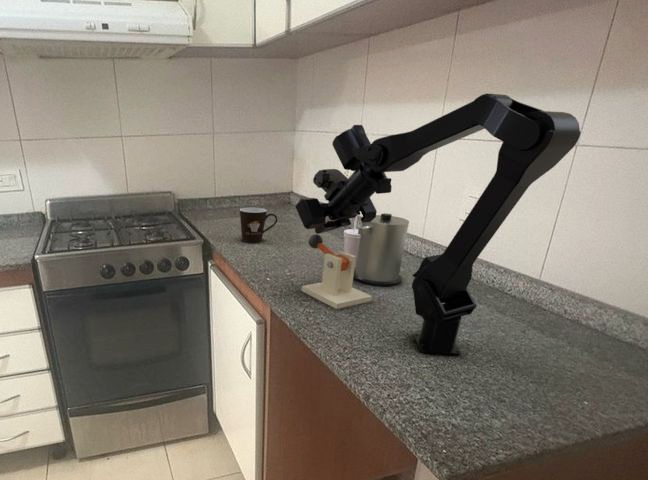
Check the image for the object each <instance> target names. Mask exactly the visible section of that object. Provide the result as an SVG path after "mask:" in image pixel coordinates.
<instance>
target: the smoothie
mask: <svg viewBox="0 0 648 480" xmlns="http://www.w3.org/2000/svg"><path fill="white" fill-rule="evenodd" d="M358 216H359V215H357V216H356V217H355V218H354V223H353V228H348V229H344V230H343V234H342V235H343V236H344V237H343V245H344V247H343V249H344V251H343V252H346V253H348V254H351V255H354V256H356V262H355V269H356V264H357V257H358V250H359V243H360V236H361V235H359V234H358V229H359V228H358V229H357V225H358V224H357V223H358Z"/></svg>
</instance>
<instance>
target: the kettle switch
mask: <svg viewBox="0 0 648 480" xmlns="http://www.w3.org/2000/svg"><path fill="white" fill-rule="evenodd" d="M308 245H309V246H310V248H312V249H318V250H319V251H321V252H322V253H323V255H325V254H331V255H334V256H336V257H339V258H342V263H341V271H344V270H346V268H347V265H348V263H349V261H348V260H347V259H346V258H345V257H343V256H342V255H339V254H335V252H333V251H332V250H331V249H330V248H328V247H327V246H326V245H325V244H324V240H323V237H322V236H321V235H319V234H313V235H311V236H310V237H309V238H308Z"/></svg>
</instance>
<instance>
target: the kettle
mask: <svg viewBox="0 0 648 480" xmlns="http://www.w3.org/2000/svg"><path fill="white" fill-rule="evenodd" d="M409 223H410V221H409V220H408V219H407V218H403V217H399V216H394V215H393V214H392V213H381V214H376V217H375V218H374V219H373V220H372V221H371V222H365V223H362V222H361V226H359V227H358V234H359V235H361V236H360V243H359V250H358V257H357V264H356V268H355V269H354V276H353V281H355V282H356V283H359V284H362V285H364V286H369V287H377V288H393V287H397V286H399V285H401V284H402V282H403V277H402V276H401V275H400V273H401V266H402V262H403V257H404V251H405V246H406V240H407V235H408V228H409Z"/></svg>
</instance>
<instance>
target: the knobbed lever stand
mask: <svg viewBox="0 0 648 480" xmlns="http://www.w3.org/2000/svg"><path fill="white" fill-rule="evenodd" d="M338 255H342V256H343V257H345V258H346V259H347V260H348V261H349V263H348V265H347V268H346V270H344V271H341V263H342V258H339V257H336V256H334V255H331V254H324V259H323V268H322V278H321V282H316V283H315V282H314V283H311V284H305V285H302V286H301V289H300V290H301V292H303V293H305V294H307V295H309V296H310V297H313V298H314V299H317V301H318V300H319V301H321V302H323V303H324V304H326V305H328V306H330V307H332V308H334V309H335V310H338V309H342V308H347V307H352V306H356V305H360V304H364V303H369V302H372V299H373V296H372V294H368V293H366V292H364V291H361V290H359V289H357V288H355V287H353V282H354V280H353V276H354V270H356V268H355V262H356V256H354V255H351V254H348V253H346V252H344V251H338Z"/></svg>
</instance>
